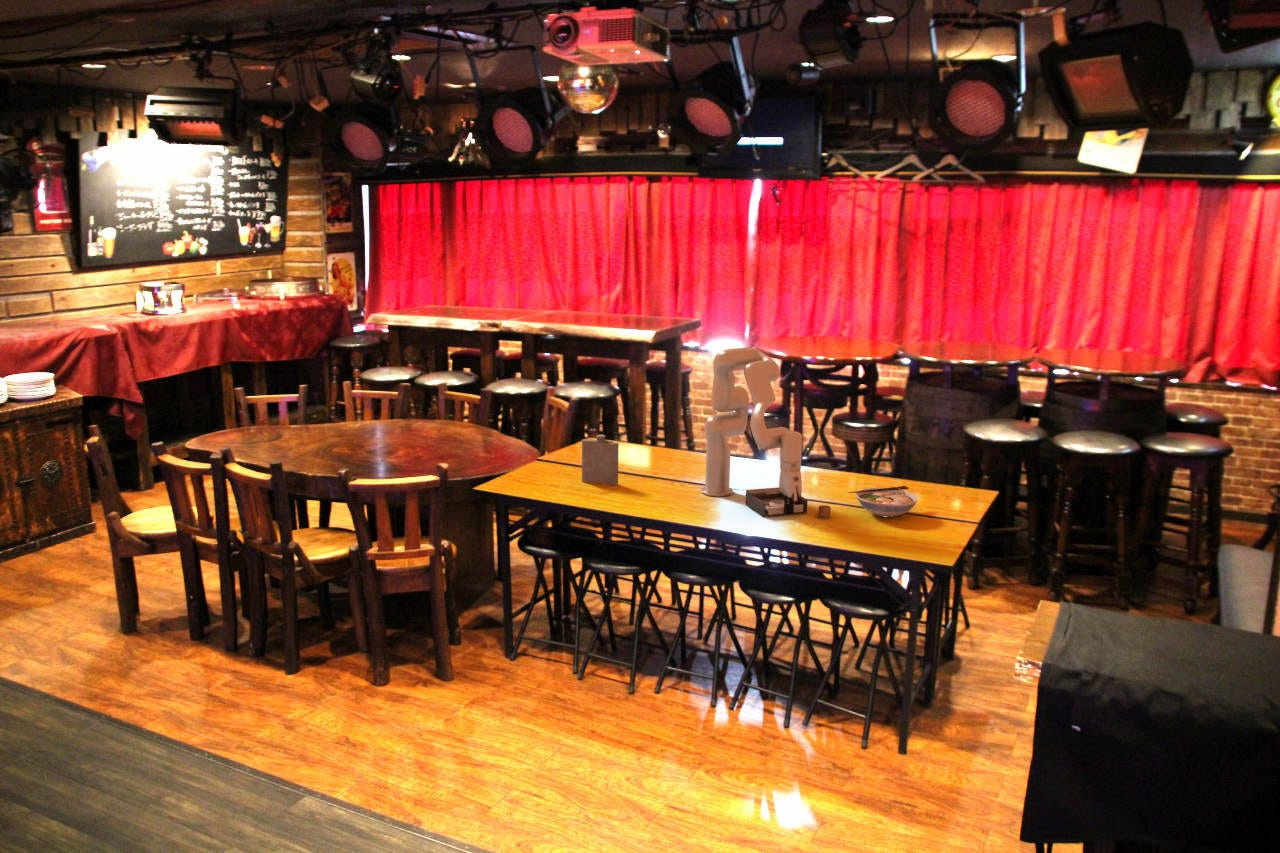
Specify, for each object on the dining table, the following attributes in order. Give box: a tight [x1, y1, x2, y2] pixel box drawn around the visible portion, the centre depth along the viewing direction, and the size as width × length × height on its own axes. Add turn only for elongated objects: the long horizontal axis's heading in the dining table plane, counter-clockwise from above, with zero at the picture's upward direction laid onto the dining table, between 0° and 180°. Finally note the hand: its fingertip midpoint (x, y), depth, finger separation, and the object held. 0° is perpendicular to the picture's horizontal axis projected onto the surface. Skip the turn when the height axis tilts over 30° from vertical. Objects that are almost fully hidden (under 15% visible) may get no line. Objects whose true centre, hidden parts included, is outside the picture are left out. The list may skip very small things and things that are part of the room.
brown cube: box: [817, 504, 832, 520], centre depth 386 cm, size 4×4×4 cm
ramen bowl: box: [848, 485, 919, 518], centre depth 390 cm, size 25×23×8 cm
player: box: [745, 486, 808, 518], centre depth 395 cm, size 16×18×6 cm
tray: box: [759, 497, 803, 515], centre depth 394 cm, size 16×14×2 cm
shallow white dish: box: [769, 500, 784, 507], centre depth 393 cm, size 7×7×2 cm
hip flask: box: [581, 434, 620, 487], centre depth 426 cm, size 16×4×20 cm, turn 68°
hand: (788, 513), depth 385 cm, fingers closed
